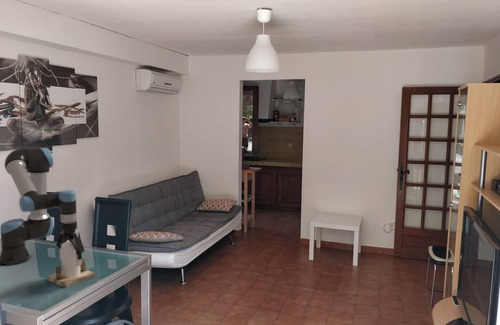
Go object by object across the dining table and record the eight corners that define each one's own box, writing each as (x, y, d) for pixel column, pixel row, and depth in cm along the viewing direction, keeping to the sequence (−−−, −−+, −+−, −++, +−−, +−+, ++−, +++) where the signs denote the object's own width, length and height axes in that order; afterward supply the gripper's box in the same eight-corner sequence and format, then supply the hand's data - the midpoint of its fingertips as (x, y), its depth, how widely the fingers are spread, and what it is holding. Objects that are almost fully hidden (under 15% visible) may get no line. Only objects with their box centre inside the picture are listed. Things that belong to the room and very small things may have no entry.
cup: (69, 279, 201) (67, 247, 199) (59, 275, 205) (57, 244, 204) (83, 273, 208) (82, 243, 206) (73, 270, 212) (72, 240, 210)
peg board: (47, 280, 204) (46, 264, 204) (76, 270, 218) (75, 256, 217) (66, 287, 196) (65, 271, 195) (95, 276, 209) (94, 261, 208)
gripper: (47, 219, 208) (49, 260, 210) (77, 226, 194) (79, 270, 196) (61, 216, 214) (63, 256, 216) (90, 223, 200) (92, 265, 202)
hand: (70, 262), depth 206 cm, fingers open, 13 cm apart
